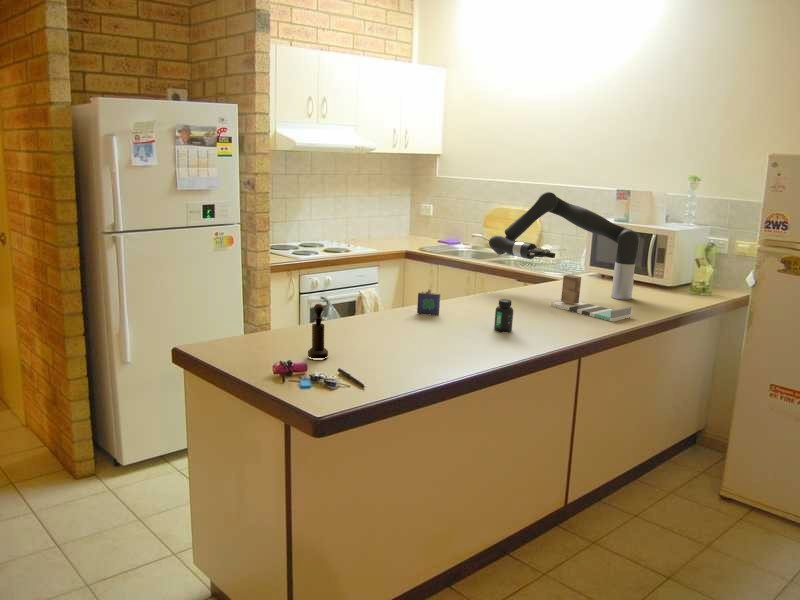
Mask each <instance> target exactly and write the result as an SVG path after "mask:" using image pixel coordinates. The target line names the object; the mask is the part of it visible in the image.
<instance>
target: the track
mask: <svg viewBox="0 0 800 600" xmlns="http://www.w3.org/2000/svg"><path fill="white" fill-rule="evenodd" d="M552 306H553V308H556V307H557V308H556V309H560V308H561V310H564V309H565V310H564V311H568V310H569V311H568V312H572V311H573V313H575V312H576V314H579V315H580V314H581V315H583V314H584V315H583V316H587V315H588V317H591V316H592V317H591V318H595V317H596V318H595V319H599V318H601V319H600V320H603V319H604V321H607V320H608V322H611V321H613V322H616V321H621V320H625V318H626V319H629V317H630V318H631V312H632V306H627V307H622V308H617V309H610V308H608V307H604V306H599V305H596V304H592V303H587V302H582V301H579V303H576V304H569V303H565V302H561V300H560V301H556V302H555V301H554V302H551V303H550V307H552Z"/></svg>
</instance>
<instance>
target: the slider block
mask: <svg viewBox="0 0 800 600" xmlns="http://www.w3.org/2000/svg"><path fill="white" fill-rule="evenodd" d="M581 283H582V276H579V275H574V274H567V275H563V278H562V287H561V298H560V301H561V302H565V303H569V304H576V303H579V302H580V295H581V294H580V293H581V285H582V284H581Z"/></svg>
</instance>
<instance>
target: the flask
mask: <svg viewBox="0 0 800 600" xmlns="http://www.w3.org/2000/svg"><path fill="white" fill-rule="evenodd" d="M440 302H441V293H438V292H437V293H434V292H432V289H431V288H428V290H427V291H421V292H418V293H417V307H416V308H417V310H416V314H417V313H419V314H418V315H421V314H431V315H430V316H439V315H440V308H441V307H440V305H441V303H440Z"/></svg>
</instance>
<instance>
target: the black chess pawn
mask: <svg viewBox="0 0 800 600" xmlns="http://www.w3.org/2000/svg"><path fill="white" fill-rule="evenodd" d="M324 309H325V308H324V306H323V304H322V303H316V304H315V305H314V307H313V310H314V312H315V314H316V315H315V317H314V322H315V323H312V325H311V348H310V349H308V351H307V357H308V356H309V357H311V358H325V357H327V356H328V357H329V351H328V349H327V348H325V324H324V323H322V321H323V316H322V313H323V311H324Z"/></svg>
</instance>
